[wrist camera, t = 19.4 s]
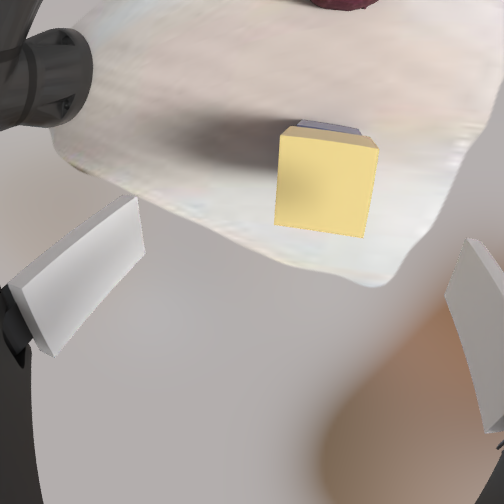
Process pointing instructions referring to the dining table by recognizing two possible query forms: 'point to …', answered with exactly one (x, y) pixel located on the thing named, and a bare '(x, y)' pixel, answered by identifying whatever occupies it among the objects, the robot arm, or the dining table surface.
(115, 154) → the dining table surface
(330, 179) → the mustard brick
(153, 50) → the dining table surface
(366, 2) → the vegetable
